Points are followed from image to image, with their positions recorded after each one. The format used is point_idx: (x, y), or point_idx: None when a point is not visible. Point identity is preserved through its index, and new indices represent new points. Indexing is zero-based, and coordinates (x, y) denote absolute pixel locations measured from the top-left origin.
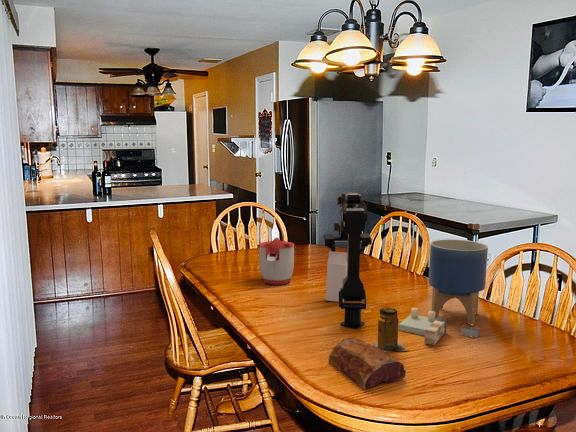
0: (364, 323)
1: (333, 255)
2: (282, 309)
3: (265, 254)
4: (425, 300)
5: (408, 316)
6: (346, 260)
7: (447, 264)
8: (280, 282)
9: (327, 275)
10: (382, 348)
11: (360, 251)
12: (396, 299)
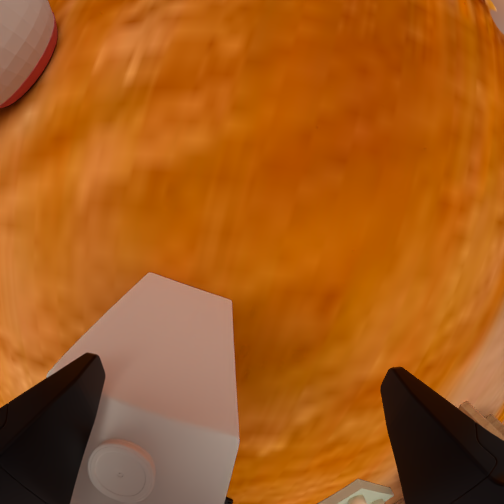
0: (231, 502)
1: (73, 496)
2: (20, 377)
3: None
4: (480, 345)
5: (346, 498)
6: (227, 446)
7: None
8: (6, 104)
9: None
10: None
11: (414, 496)
12: (424, 340)
